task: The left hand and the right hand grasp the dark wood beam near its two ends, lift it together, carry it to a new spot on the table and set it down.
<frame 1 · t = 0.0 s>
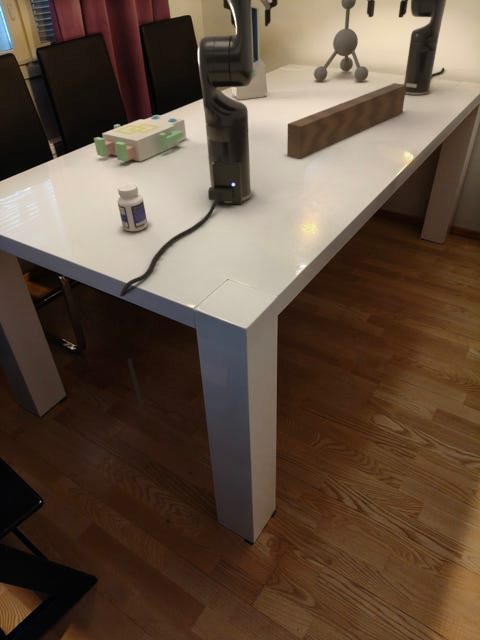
left hand: (251, 26, 133), 29 cm above the table, tool pointing down, fingers open, 8 cm apart
right hand: (385, 16, 135), 29 cm above the table, tool pointing down, fingers open, 8 cm apart
electronic device: (249, 96, 189), on the table
beam: (350, 132, 149), on the table
decorative block: (144, 149, 146), on the table
pill bottle: (135, 227, 105), on the table
molecular model: (337, 79, 205), on the table
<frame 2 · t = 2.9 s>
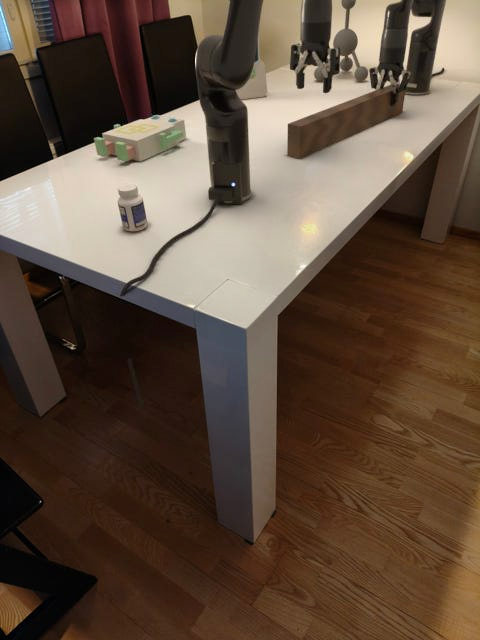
left hand: (313, 90, 129), 16 cm above the table, tool pointing down, fingers open, 8 cm apart
right hand: (385, 104, 157), 4 cm above the table, tool pointing down, fingers closed on beam, 4 cm apart
beam: (350, 132, 149), on the table, touching right hand
everything else where it was.
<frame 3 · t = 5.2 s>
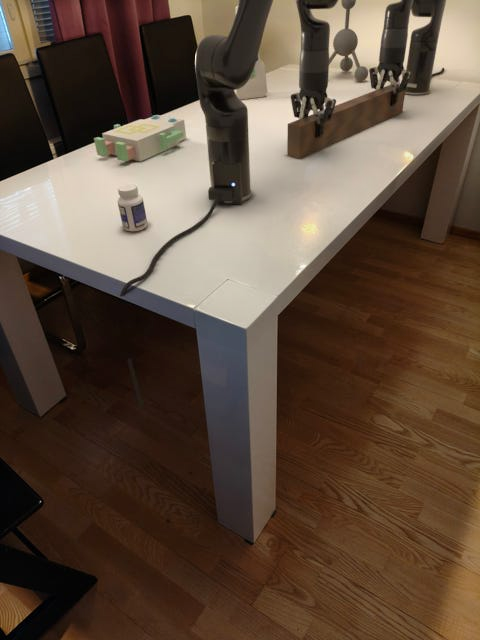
left hand: (311, 135, 136), 4 cm above the table, tool pointing down, fingers closed on beam, 4 cm apart
right hand: (385, 104, 157), 4 cm above the table, tool pointing down, fingers closed on beam, 4 cm apart
beam: (350, 132, 149), on the table, touching left hand, right hand
everything else where it was.
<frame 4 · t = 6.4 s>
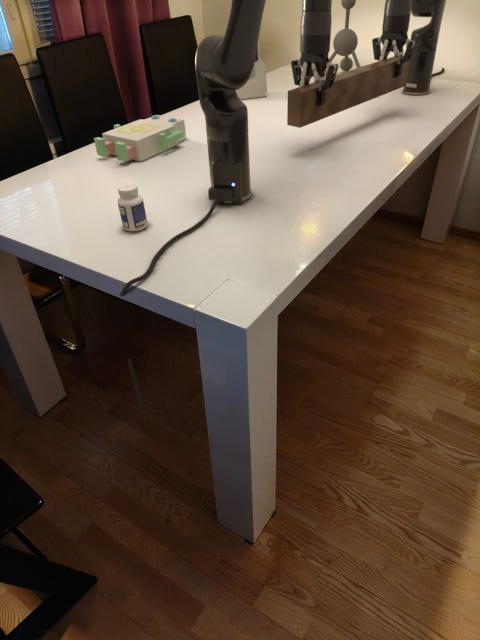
left hand: (312, 104, 131), 12 cm above the table, tool pointing down, fingers closed on beam, 4 cm apart
right hand: (389, 76, 152), 12 cm above the table, tool pointing down, fingers closed on beam, 4 cm apart
beam: (352, 103, 144), point 8 cm above the table, touching left hand, right hand
everything else where it was.
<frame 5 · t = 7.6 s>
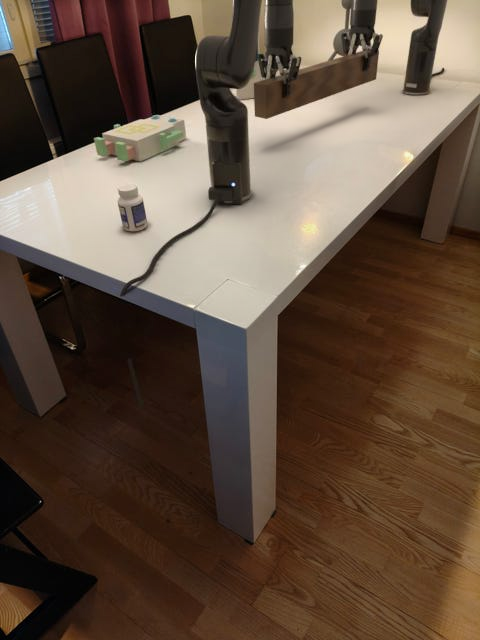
left hand: (278, 96, 135), 13 cm above the table, tool pointing down, fingers closed on beam, 4 cm apart
right hand: (358, 69, 156), 13 cm above the table, tool pointing down, fingers closed on beam, 4 cm apart
beam: (320, 96, 148), point 9 cm above the table, touching left hand, right hand
everything else where it was.
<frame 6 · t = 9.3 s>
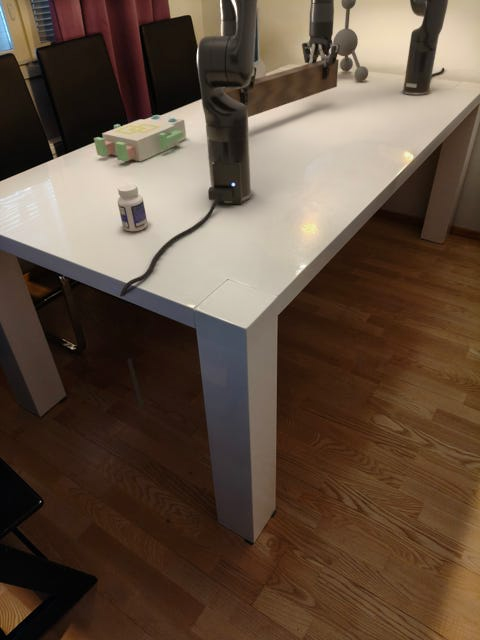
left hand: (237, 103, 143), 10 cm above the table, tool pointing down, fingers closed on beam, 4 cm apart
right hand: (318, 77, 164), 10 cm above the table, tool pointing down, fingers closed on beam, 4 cm apart
beam: (281, 103, 156), point 6 cm above the table, touching left hand, right hand
everything else where it was.
when the left hand's fingers open (5 cm above the table, at t = 10.2 s): beam drops 1 cm, on the table.
when the right hand's fingers open (5 cm above the table, at t = 10.2 s): beam drops 1 cm, on the table.
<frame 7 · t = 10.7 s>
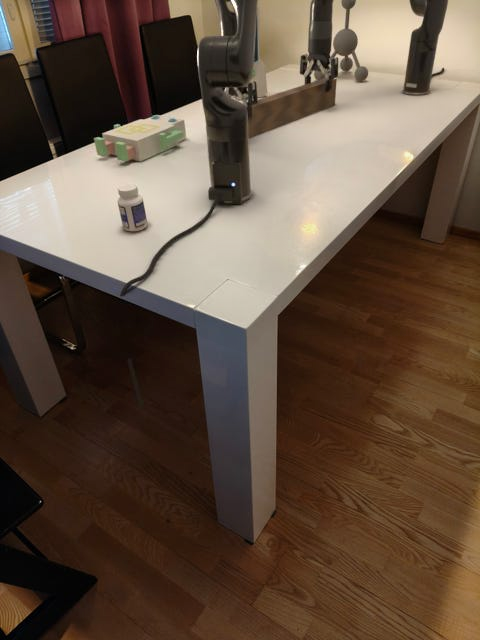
left hand: (237, 117, 146), 6 cm above the table, tool pointing down, fingers open, 8 cm apart
right hand: (317, 90, 167), 6 cm above the table, tool pointing down, fingers open, 8 cm apart
beam: (280, 122, 160), on the table
everything else where it was.
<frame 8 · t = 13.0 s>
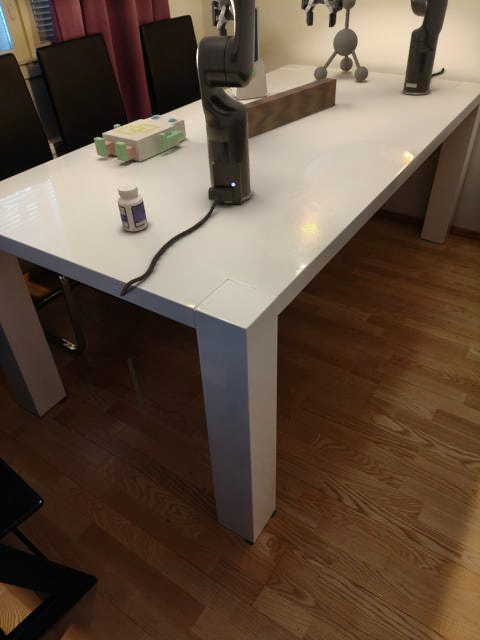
left hand: (234, 45, 134), 25 cm above the table, tool pointing down, fingers open, 8 cm apart
right hand: (320, 26, 155), 25 cm above the table, tool pointing down, fingers open, 8 cm apart
nothing on the table moved.
at the end: beam inside the target area (0.1 cm from its centre), on the table; beam tilted 0°; beam never tilted more than 1° during the clip; both hands held the beam at the same time; the left hand is holding nothing; the right hand is holding nothing; beam at rest at the end (0.0 cm/s) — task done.
